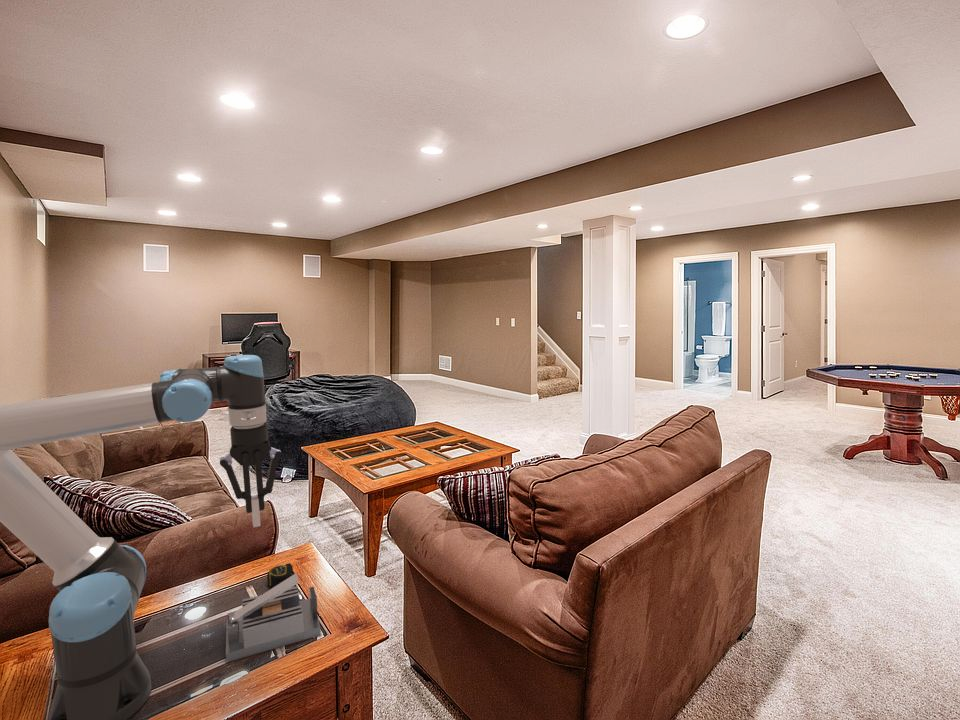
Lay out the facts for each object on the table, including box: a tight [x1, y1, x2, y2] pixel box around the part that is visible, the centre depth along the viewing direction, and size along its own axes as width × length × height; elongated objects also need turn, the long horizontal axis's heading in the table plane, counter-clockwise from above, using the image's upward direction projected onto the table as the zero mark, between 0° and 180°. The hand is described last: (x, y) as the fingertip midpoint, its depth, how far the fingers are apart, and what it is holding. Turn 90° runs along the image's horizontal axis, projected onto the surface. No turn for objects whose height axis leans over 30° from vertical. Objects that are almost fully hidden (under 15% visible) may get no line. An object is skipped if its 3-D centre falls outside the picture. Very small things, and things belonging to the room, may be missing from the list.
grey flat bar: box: [229, 572, 300, 625], centre depth 111 cm, size 16×3×1 cm, turn 113°
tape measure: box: [266, 562, 295, 588], centre depth 132 cm, size 7×7×4 cm
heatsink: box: [225, 585, 322, 663], centre depth 112 cm, size 19×12×7 cm, turn 116°
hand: (256, 524), depth 114 cm, fingers closed
